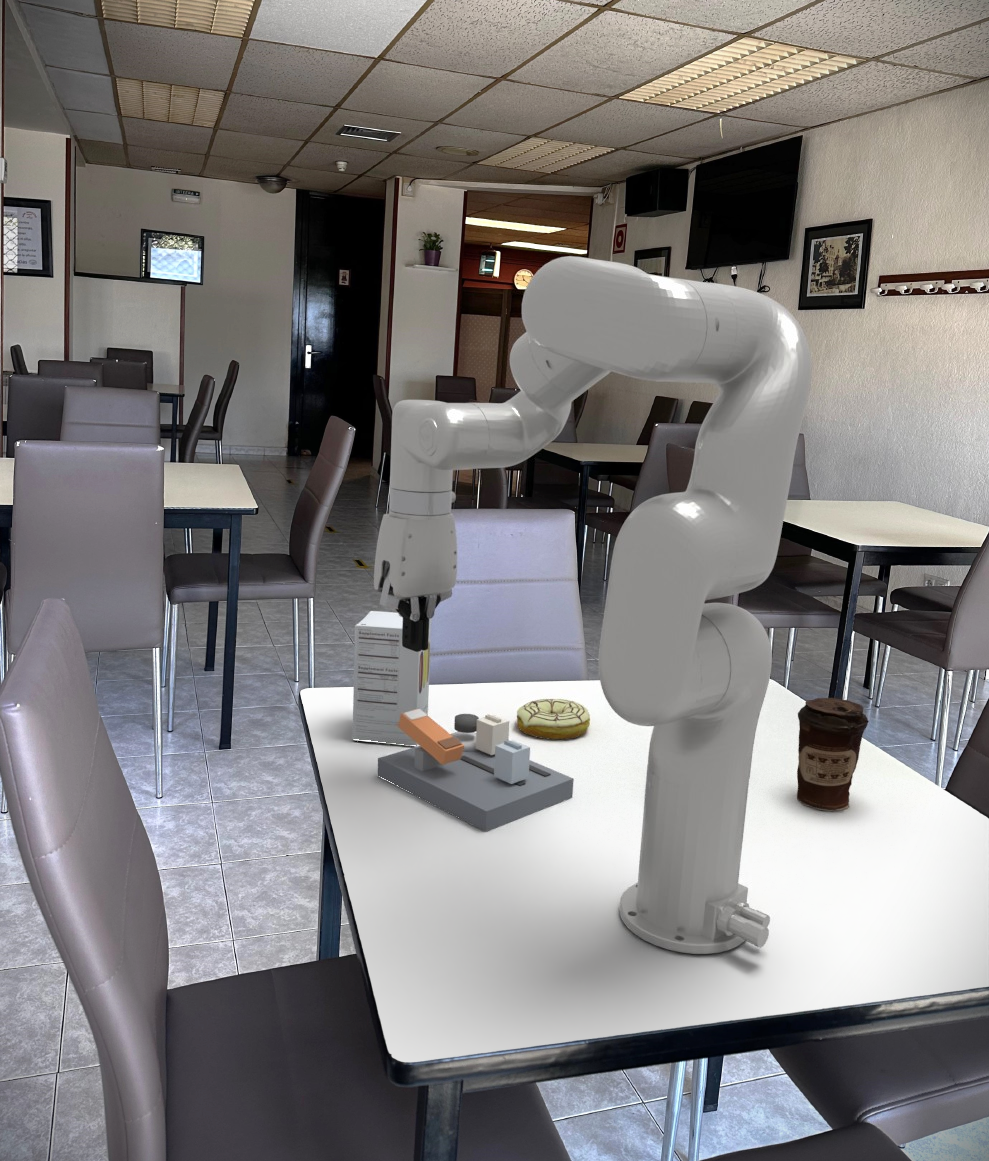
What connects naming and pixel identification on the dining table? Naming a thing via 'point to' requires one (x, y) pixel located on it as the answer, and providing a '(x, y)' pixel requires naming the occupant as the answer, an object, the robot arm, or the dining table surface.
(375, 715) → the supplement box
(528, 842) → the dining table surface
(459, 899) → the dining table surface
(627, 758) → the dining table surface
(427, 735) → the rocker switch
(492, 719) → the ivory knob
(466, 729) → the push button
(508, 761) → the slate knob
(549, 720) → the decorated donut
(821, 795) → the coffee cup
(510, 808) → the console
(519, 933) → the dining table surface
